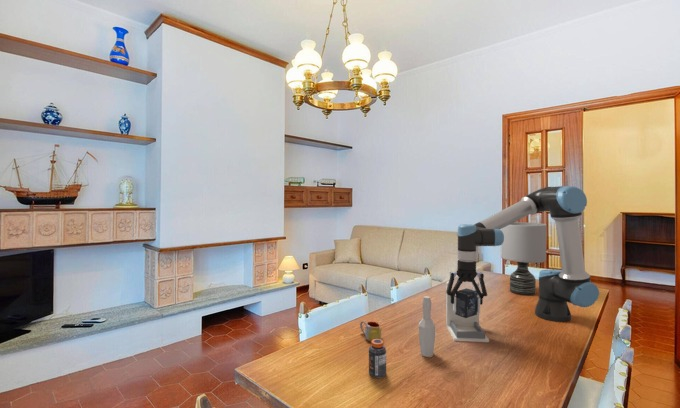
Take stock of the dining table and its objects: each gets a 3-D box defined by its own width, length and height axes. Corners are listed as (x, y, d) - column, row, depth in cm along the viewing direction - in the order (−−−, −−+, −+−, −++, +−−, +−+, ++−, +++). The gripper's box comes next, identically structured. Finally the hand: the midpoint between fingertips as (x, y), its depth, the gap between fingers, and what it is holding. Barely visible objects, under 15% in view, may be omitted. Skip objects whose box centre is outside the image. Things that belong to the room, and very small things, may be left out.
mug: (385, 340, 137) (385, 324, 137) (372, 344, 133) (372, 328, 133) (367, 330, 147) (367, 316, 147) (355, 334, 143) (355, 319, 143)
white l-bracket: (478, 326, 150) (478, 280, 149) (489, 342, 134) (490, 290, 134) (445, 325, 151) (445, 280, 151) (453, 340, 136) (453, 290, 135)
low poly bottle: (432, 359, 120) (432, 300, 120) (416, 355, 124) (415, 298, 123) (437, 352, 126) (437, 296, 125) (421, 348, 129) (421, 293, 128)
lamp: (554, 298, 189) (555, 225, 188) (513, 298, 190) (513, 225, 188) (531, 286, 213) (531, 222, 212) (494, 286, 214) (494, 222, 212)
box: (466, 318, 138) (466, 294, 137) (455, 314, 142) (455, 290, 142) (477, 315, 142) (477, 290, 142) (466, 311, 147) (466, 287, 146)
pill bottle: (367, 369, 114) (367, 337, 114) (384, 368, 115) (384, 336, 114) (370, 379, 108) (370, 345, 108) (388, 378, 109) (387, 344, 108)
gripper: (490, 258, 144) (489, 309, 145) (439, 258, 146) (438, 307, 147) (496, 262, 137) (495, 315, 137) (442, 261, 139) (442, 313, 140)
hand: (466, 311), depth 142 cm, fingers closed on box, 9 cm apart
